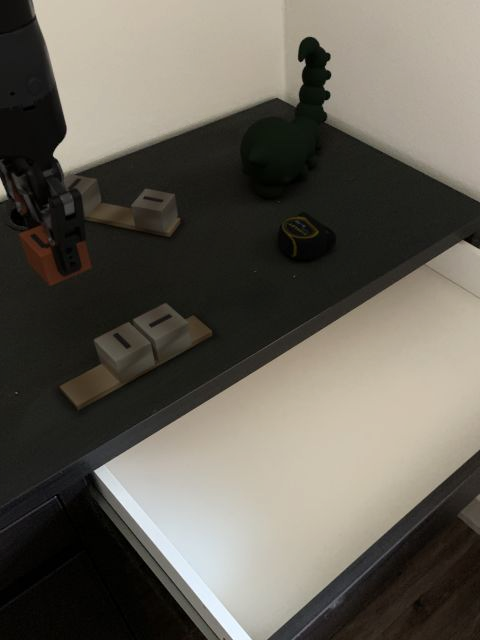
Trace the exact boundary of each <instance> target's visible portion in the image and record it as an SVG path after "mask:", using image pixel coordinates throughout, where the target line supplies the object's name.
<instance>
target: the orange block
mask: <svg viewBox="0 0 480 640" xmlns="http://www.w3.org/2000/svg"><path fill="white" fill-rule="evenodd" d="M51 226H52V222H51ZM18 236H19V239H20V240H19V241H20V243H21V245H22V248H23V252H24V254H25V257H26V261H27V264H28V265H29V266H30V267H31V268H32V269H33V270H34V271H35V273H37V274H38V275H39V276H40V277H41V278H42V280H43V281H44V282H45V283H46V284H47V285H48V286H50V287H52V286H54V285H56V284H57V283H60V282H63V281H65V280H67V279H71V278H72V277H74V276H77V275H80V274H81V273H84V272H86V271H88V270H90V269H92V263H91V259H90V256H89V252H88V248H87V244H86V240H85V241H83V242H79V243H76V245H77V249H78V253H79V256H80V260H81V264H82V268H81V269H80V270H79V271H77V272H74V273H72V274H70V275H68V276H62V275H61V274H60V273H59V272H58V270H57V267H56V263H55V260H54V257H53V254H52V251H51V248H50V245H49V242H48V241H47V237H46V234H45V232H44V229H43V227H42V225H40V226H38V227H35V228H33V229H30V230H28V229H27V230H25V231H23V232H20V233H18Z"/></svg>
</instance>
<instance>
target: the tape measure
mask: <svg viewBox="0 0 480 640" xmlns="http://www.w3.org/2000/svg"><path fill="white" fill-rule="evenodd" d="M336 242H337V234H336V232H334V231H333V230H332V229H331V228H330V227H328V226H327V225H325V224H323V223H321V222H320V221H318V220H317V219H315V218H314V217H313V216H312V215H310V214H309V213H307V212H306V211H302V212H300V213H298V214H297V215H294V216H291V217H288V218H286V219H284V220H283V221H282V222H281V224H280V225H279V227H278V233H277V244H278V247H279V249H280V250H281V251H282V252H283V254H286V256H287V257H288V256H289V257H291V258H293V259H296V260H305V261H307V260H312V259H313V260H314V259H316V258H319V257H320V256H321V255H323V254H324V253H325V252H327V251H328V250H332V248H334V246H335V245H336Z"/></svg>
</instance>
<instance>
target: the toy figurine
mask: <svg viewBox="0 0 480 640" xmlns="http://www.w3.org/2000/svg"><path fill="white" fill-rule="evenodd" d="M331 57H332V55H331V53H330V52H327V51H326V50H325V49H324V48H323V47H322V46H321V45H320V42H319V40H318V39H317V38H316V37H313V36H306V37H304V38H303V39H302V40H301V41H300V42H299V45H298V50H297V61H298V62H299V63H303V62H304V64H305V66H304V67H303V69H302V71H301V81H302V84H301V86H300V88H299V91H298V101H299V102H298V103H297V105H296V107H295V109H294V118H292V119H291V121H290V120H288V119H286V118H283V117H280V116H267V117H262V118H260V119H257V120H256V121H255V122H253V123H252V124H251V125H250V126H249V127H248V128H247V129H246V130H245V132H244V134H243V136H242V138H241V142H240V146H239V153H240V160H241V165H242V166H241V172H242V173H243V174H244V175H247V176H249V177H250V179H252V180H254V181H255V183H254V190H255V191H256V193H257V195H259V196H260V197H262V198H266V199H271V200H272V199H277V198H279V197H281V195H282V194H283V191H284V187H283V186H284V185H287V184H289V183H290V182H292V181H293V180H294V179H297V180H303V179H306V178H307V177H308V174H309V169H314V168H315V167H316V165H317V164H318V159H317V157H316V155H314V152H315V151H321V150H322V149H323V147H324V140H323V138H321V137H320V135H321V129H320V126H321V125H322V123H325V122H326V121H327V120H328V113H327V112H326V111H325V109H324V106H323V105H324V104H325V102H327V101H329V100H330V98H331V95H332V93H331V92H330V90H327V89H325V84H326V83H327V81H329V80H331V78H332V72H331V71H330V69H326V66H327V64H328V62H330V61H331Z"/></svg>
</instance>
